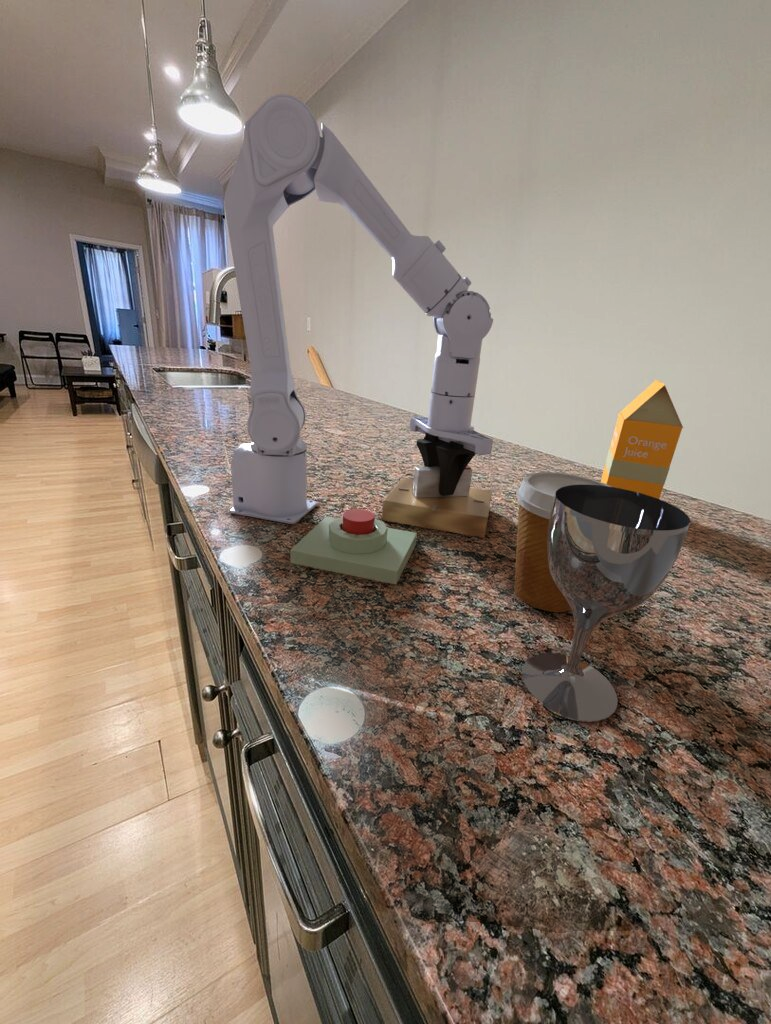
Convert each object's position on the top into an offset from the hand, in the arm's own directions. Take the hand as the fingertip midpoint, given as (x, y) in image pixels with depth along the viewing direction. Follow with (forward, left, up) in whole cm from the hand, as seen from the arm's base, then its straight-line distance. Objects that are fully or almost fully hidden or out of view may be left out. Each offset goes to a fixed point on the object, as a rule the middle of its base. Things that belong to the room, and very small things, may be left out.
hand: (440, 491), depth 63 cm
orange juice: (+28, +16, -4) cm, 33 cm away
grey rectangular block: (0, 0, -1) cm, 1 cm away
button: (-7, -16, 0) cm, 17 cm away
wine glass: (+15, -30, -4) cm, 34 cm away
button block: (-7, -16, -4) cm, 18 cm away
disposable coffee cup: (+14, -17, -4) cm, 22 cm away
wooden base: (0, 0, -4) cm, 4 cm away
